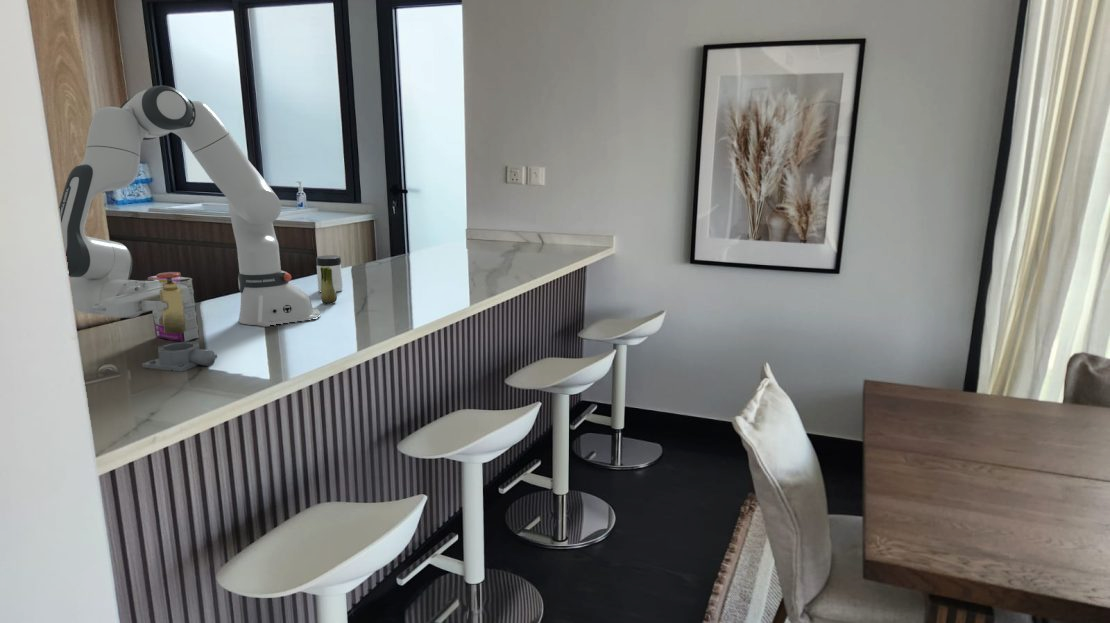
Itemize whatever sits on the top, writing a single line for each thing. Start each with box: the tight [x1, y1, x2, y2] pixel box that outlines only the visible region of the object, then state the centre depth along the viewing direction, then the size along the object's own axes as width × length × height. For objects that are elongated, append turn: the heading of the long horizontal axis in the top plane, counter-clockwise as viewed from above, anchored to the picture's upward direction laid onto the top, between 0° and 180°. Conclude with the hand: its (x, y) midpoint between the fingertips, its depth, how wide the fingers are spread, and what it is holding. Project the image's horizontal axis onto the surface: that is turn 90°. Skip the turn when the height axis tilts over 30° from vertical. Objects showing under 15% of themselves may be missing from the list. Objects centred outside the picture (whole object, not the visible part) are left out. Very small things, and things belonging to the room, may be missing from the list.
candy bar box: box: [147, 275, 200, 342], centre depth 180 cm, size 11×5×16 cm, turn 66°
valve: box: [156, 271, 186, 334], centre depth 158 cm, size 5×5×14 cm
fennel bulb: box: [320, 267, 338, 304], centre depth 221 cm, size 6×5×12 cm
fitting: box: [141, 341, 218, 373], centre depth 160 cm, size 14×11×4 cm
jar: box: [315, 254, 343, 292], centre depth 240 cm, size 9×8×12 cm
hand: (175, 302), depth 158 cm, fingers closed on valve, 4 cm apart
